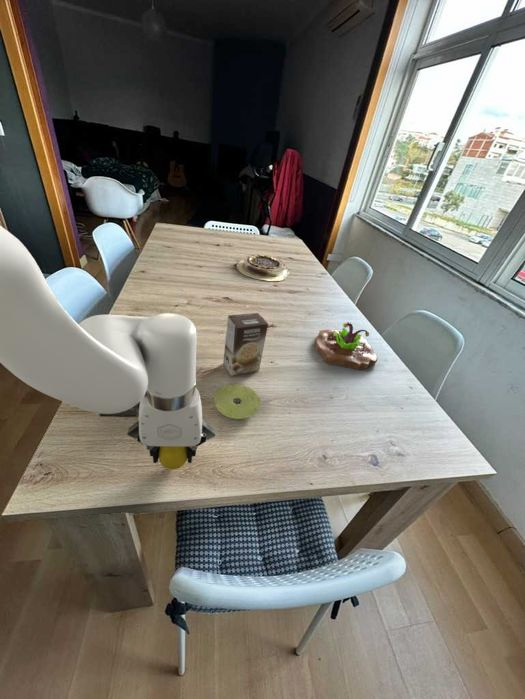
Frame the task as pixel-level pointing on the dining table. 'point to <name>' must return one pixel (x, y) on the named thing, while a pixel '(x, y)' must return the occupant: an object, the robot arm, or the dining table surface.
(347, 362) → the plant
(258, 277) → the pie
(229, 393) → the green disc
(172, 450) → the lemon
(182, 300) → the dining table surface
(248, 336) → the coffee box
